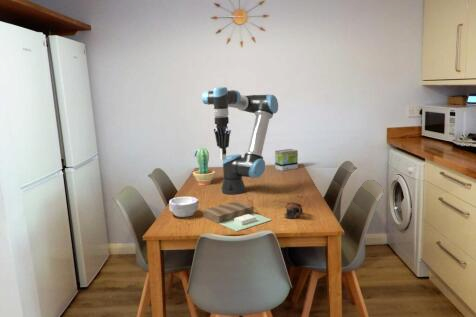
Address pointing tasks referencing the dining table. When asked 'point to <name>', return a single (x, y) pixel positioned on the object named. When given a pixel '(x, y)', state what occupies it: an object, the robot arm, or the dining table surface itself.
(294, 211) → the pottery mug
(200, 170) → the potted cactus
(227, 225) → the mat
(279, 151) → the tea box
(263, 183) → the dining table surface
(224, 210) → the board
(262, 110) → the robot arm
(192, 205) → the white round bowl
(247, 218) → the white flat block
